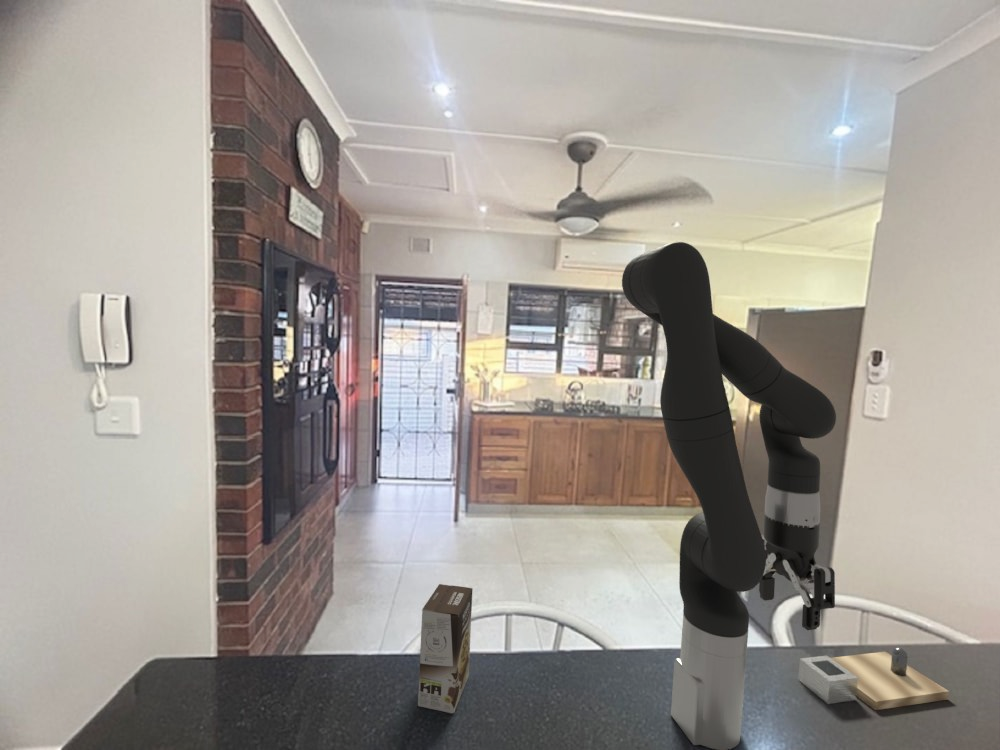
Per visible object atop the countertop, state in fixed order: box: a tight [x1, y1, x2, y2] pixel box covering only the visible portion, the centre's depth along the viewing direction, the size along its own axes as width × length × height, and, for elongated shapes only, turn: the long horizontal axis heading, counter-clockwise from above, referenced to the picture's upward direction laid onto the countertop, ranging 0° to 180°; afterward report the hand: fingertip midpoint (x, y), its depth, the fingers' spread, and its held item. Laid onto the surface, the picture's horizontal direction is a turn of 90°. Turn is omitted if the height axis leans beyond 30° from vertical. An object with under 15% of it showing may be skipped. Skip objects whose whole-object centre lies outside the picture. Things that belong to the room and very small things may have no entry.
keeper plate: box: [830, 646, 950, 711], centre depth 86 cm, size 16×11×6 cm
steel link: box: [797, 655, 858, 705], centre depth 83 cm, size 6×6×4 cm
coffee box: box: [417, 583, 473, 714], centre depth 78 cm, size 9×6×16 cm
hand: (787, 613), depth 76 cm, fingers open, 8 cm apart
